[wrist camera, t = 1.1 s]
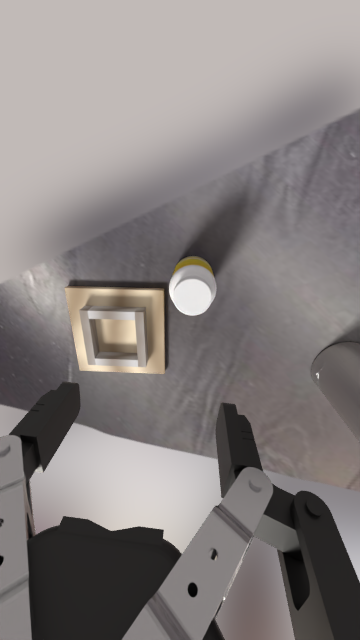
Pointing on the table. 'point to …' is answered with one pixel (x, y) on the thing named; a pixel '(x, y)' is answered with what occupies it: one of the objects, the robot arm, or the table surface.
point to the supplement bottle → (192, 285)
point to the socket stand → (118, 328)
